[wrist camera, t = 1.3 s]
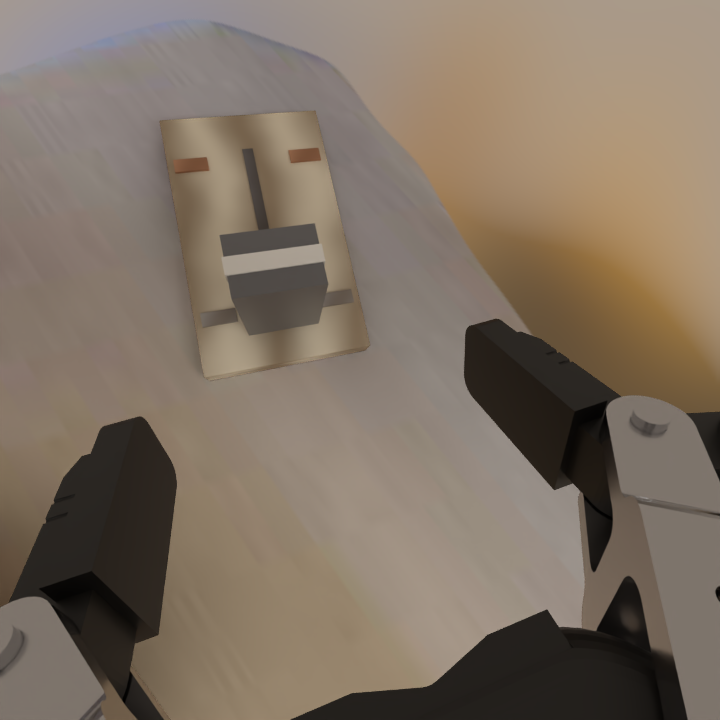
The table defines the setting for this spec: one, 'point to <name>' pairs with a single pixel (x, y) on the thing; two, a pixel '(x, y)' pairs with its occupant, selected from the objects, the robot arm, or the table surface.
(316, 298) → the fader knob
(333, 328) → the fader panel
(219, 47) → the table surface
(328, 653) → the table surface
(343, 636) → the table surface
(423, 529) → the table surface
